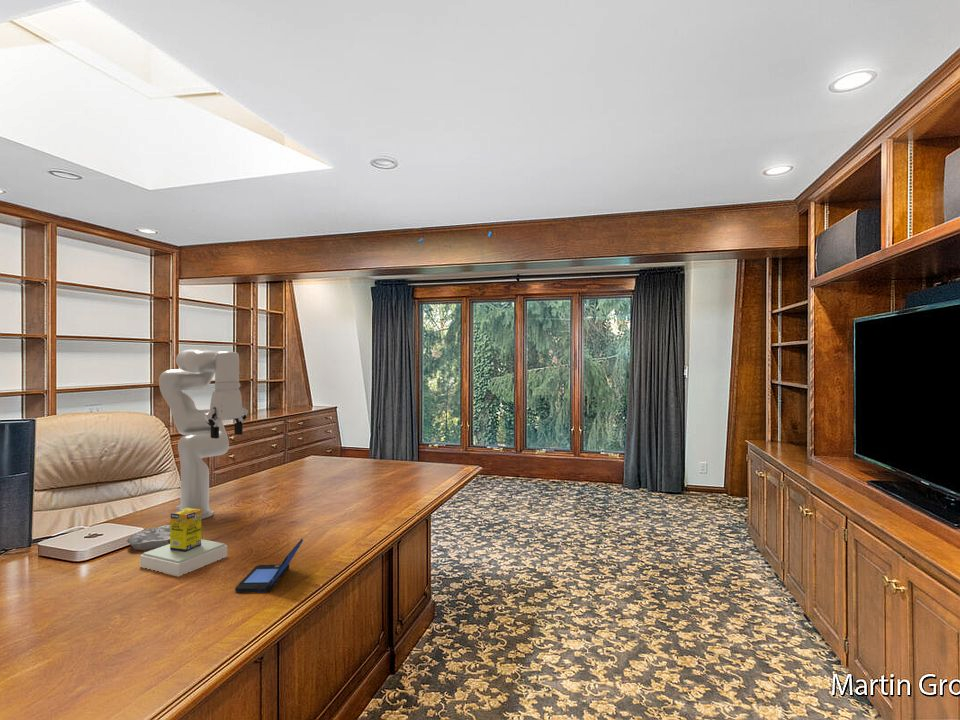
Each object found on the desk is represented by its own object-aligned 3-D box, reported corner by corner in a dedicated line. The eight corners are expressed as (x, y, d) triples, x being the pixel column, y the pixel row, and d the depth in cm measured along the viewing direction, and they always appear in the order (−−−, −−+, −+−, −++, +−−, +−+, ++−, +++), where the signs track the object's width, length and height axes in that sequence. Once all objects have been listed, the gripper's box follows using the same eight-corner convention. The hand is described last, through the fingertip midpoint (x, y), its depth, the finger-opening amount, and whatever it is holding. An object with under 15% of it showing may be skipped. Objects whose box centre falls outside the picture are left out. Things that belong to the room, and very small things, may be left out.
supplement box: (186, 552, 150) (186, 514, 150) (169, 550, 152) (169, 512, 152) (202, 545, 156) (202, 509, 156) (186, 543, 157) (186, 507, 157)
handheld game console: (257, 569, 148) (257, 537, 148) (304, 569, 149) (304, 537, 149) (233, 594, 133) (233, 558, 133) (285, 593, 133) (286, 557, 133)
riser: (140, 567, 149) (140, 553, 149) (190, 548, 164) (190, 536, 164) (178, 576, 143) (178, 562, 143) (227, 556, 157) (227, 543, 157)
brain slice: (187, 529, 184) (187, 520, 184) (202, 541, 171) (202, 532, 171) (120, 542, 170) (120, 533, 170) (132, 556, 158) (132, 547, 158)
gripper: (239, 385, 189) (239, 432, 189) (197, 388, 173) (197, 439, 173) (255, 386, 186) (254, 433, 186) (213, 388, 170) (213, 440, 170)
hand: (226, 436), depth 180 cm, fingers open, 9 cm apart
